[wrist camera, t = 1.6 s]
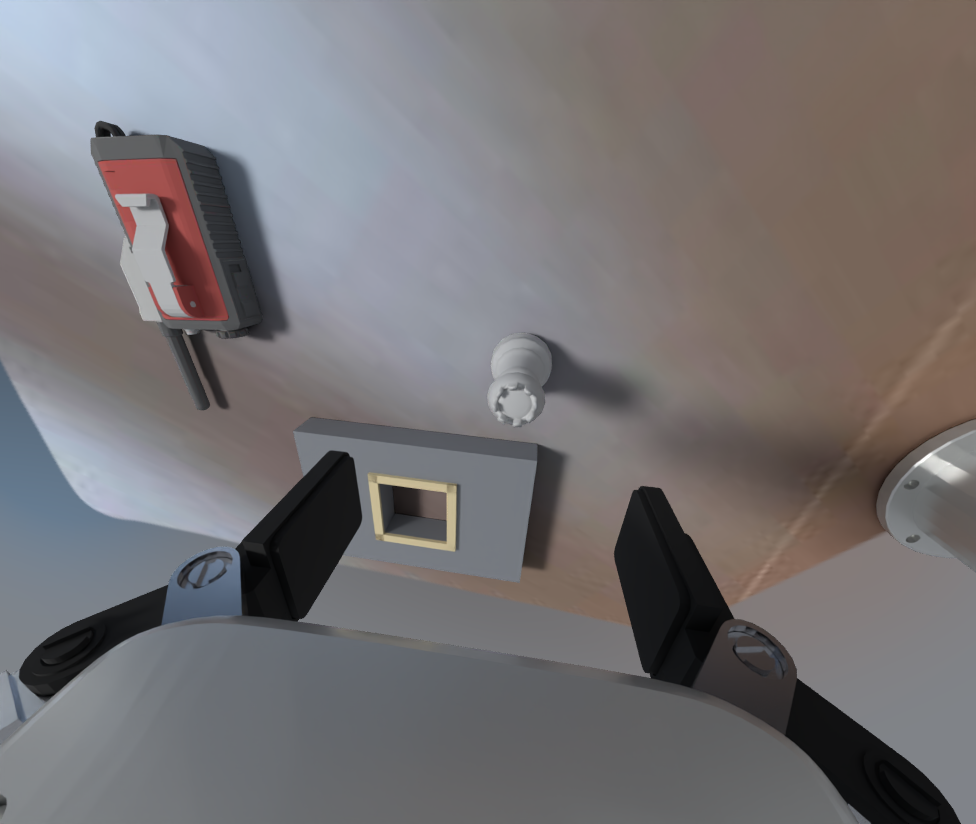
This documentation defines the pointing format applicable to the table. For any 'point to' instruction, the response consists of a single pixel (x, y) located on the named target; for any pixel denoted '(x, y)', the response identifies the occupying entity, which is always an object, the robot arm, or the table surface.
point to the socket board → (438, 467)
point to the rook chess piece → (519, 378)
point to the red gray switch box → (177, 240)
